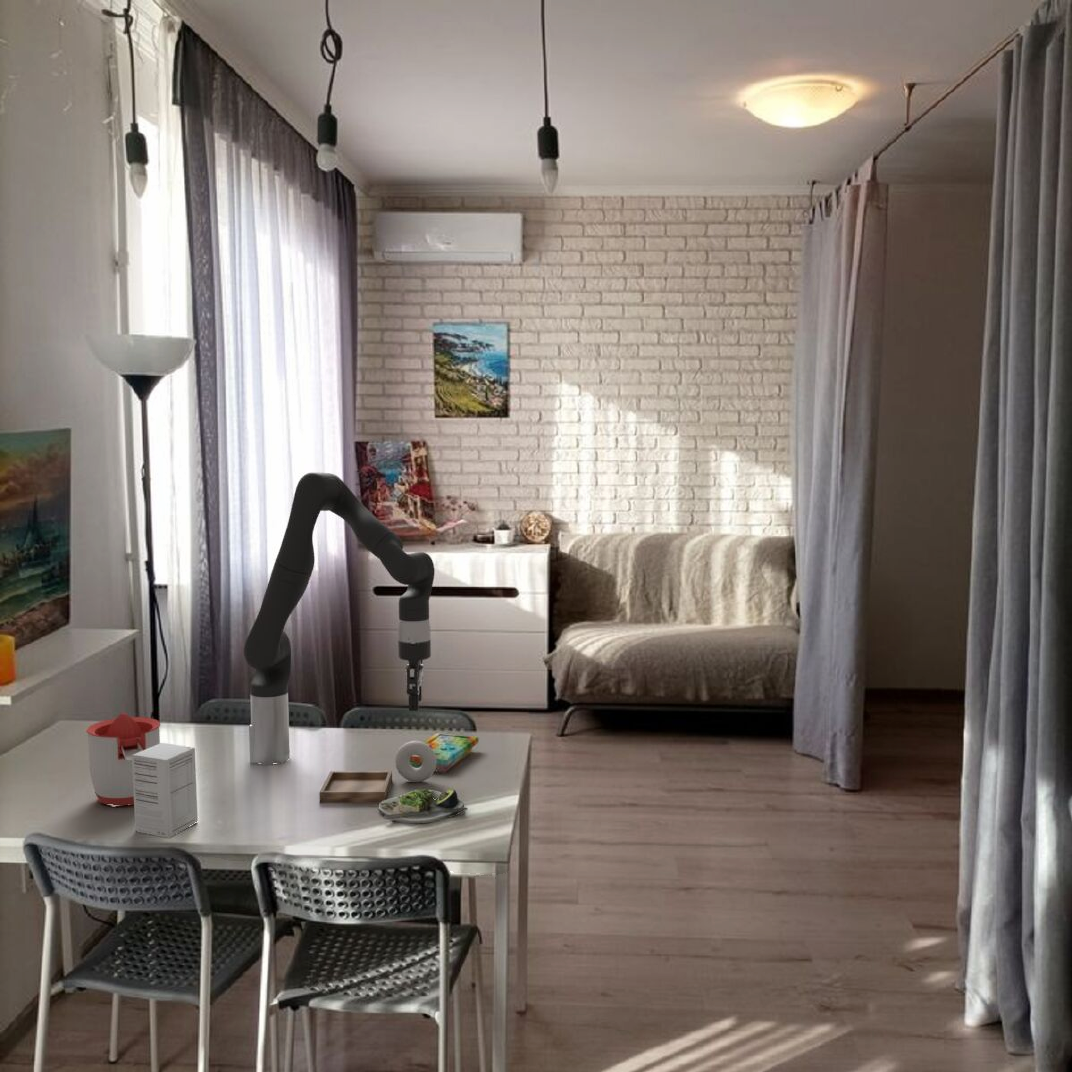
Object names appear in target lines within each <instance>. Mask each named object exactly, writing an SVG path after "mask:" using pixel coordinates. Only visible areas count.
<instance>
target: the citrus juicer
mask: <svg viewBox="0 0 1072 1072" xmlns="http://www.w3.org/2000/svg"><path fill="white" fill-rule="evenodd" d="M160 727H161V723H160V721H159V720H158V719H154V718H152V717H144V716H130V715H129V714H127V713H126V712H121V713H120V714H119V715H118V716H117V717H116V718H112V719H106V720H102V721H98V722H96V723H93V724H90V725H89V726H88V727H87V729H86V733H87V737H88V738H87V740H88V742H87V743H88V756H89V757H88V759H89V760H88V762H89V764H88V765H89V774H90V779H91V782H92V783H91V784H92V786H93V789H94V793H95V795H96V797H97V799H98V801H99V803H101V802H102V803H104V804H113V805H128V804H134V791H133V770H132V755H134V754H136V753H138V752H141V751H143V750H145V749H148V748H150V747H153V746H155V745H158V744H160V743H161V741H160V738H161V737H160ZM102 803H101V804H102ZM104 804H103V805H104ZM128 806H129V805H128Z"/></svg>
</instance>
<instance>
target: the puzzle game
mask: <svg viewBox="0 0 1072 1072" xmlns="http://www.w3.org/2000/svg"><path fill="white" fill-rule="evenodd" d="M479 739H480V738H479V737H478V736H470V735H469V736H468V735H460V734H448V733H440V732H439V733H438V732H437V733H435V734H433V735H432V736H430V737H429V738H427V739H425V740H423V742H424V743H425V744H427V745H429V746H430V748H431V749H432V750H433V751H434V753H435V755H436V761H437V763H436V769H435V770H437V771H436V772H439V771H446V770H447V769H448V770H450V769H451V768H452V767H454V766H455V765H456V764H458V763H459V762H460V761H462V760H463V759H464V758H465V757H464V756H466V755H467V754H468V755H470V753H471V752H472V750H473V747H475V746H476V745H478V744H479ZM468 755H467V756H468ZM467 756H466V757H467ZM463 757H464V758H463ZM462 758H463V759H462ZM461 759H462V760H461ZM459 760H460V761H459ZM409 761H410V764H411V766H412V767H414V768H419V767H421V766H422V759H421V758H420V757H419V756H418V755H412V756H411V757H410V759H409ZM458 761H459V762H458ZM457 762H458V763H457ZM455 763H456V764H455ZM454 764H455V765H454ZM453 765H454V766H453ZM451 766H452V767H451ZM450 767H451V768H450ZM449 768H450V769H449ZM448 770H447V771H448Z"/></svg>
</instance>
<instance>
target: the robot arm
mask: <svg viewBox="0 0 1072 1072" xmlns="http://www.w3.org/2000/svg"><path fill="white" fill-rule="evenodd" d="M292 499H293V500H292V504H291V509H290V514H289V517H288V521H287V526H286V529H285V531H284V534H283V537H282V541H281V543H280V548H279V550H278V554H277V555H276V558H275V561H274V564H273V567H272V570H271V573H270V576H269V579H268V582H267V587H266V590H265V592H264V596H263V599H262V602H261V605H260V608H259V611H258V614H257V616H256V619H255V621H254V623H253V625H252V628H251V630H250V632H249V634H248V636H247V638H246V639H245V642H244V647H243V655H244V658H245V661H246V663H247V665H248V666H249V667H250V668H252V669H254V670H255V675H254V677H253V679H251V681H250V685H249V696H250V697H249V698H250V725H249V726H248V742H249V746H248V747H249V764H256V763H261V764H273V763H280V764H283V763H285V761H286V762H287V760H288V759H289V760H290V758H291V757H290V756H291V755H290V724H289V723H290V720H289V719H290V718H289V717H290V716H289V715H290V714H289V684H290V682H291V681H290V680H291V676H292V648H291V647H292V646H291V642H290V639H289V636H288V635H287V633H286V632H285V630H284V629H285V626H286V624H287V621H288V619H289V618H290V616H291V615H292V613H293V611H294V610H295V608H296V607H297V605H298V604H299V602H300V601H301V599H302V597H303V595H304V594H305V591H306V589H307V587H308V585H309V583H310V579H311V576H312V573H313V571H314V568H315V559H316V558H315V549H314V543H313V541H314V540H313V534H314V530H315V526H316V523H317V520H318V517H319V515H320V513H321V511H322V512H331V513H333V514H335V515H336V516H338V517H340V518H341V519H343V520H344V522H346V523H347V524H348V525H349V527H350V528H351V530H352V531H353V533H354V535H355V537H356V539H357V540H358V541H359V543H360V544H361V545H362V546H363V547H364V548H365V549H367V550H368V551H369V552H370V553H371V554H372V555H373V556H375V557H376V558H377V559H379V561H380V562H381V564H382V565H383V567H384V568H385V569H386V572H387V573H388V574H389V575H390V577H391V578H392V579H393V580H395V581H396V582H398V583H399V584H401V585H403V586H404V585H406V586H407V590H406V591H405V592H404V593H403V594H402V595H400V597H399V599H398V625H397V626H398V628H397V637H398V638H397V639H398V640H397V641H398V642H397V643H398V644H397V645H398V646H397V647H398V648H397V649H398V658H399V659H400V660H402V661H407V662H408V664H406V666H405V675H406V676H405V677H406V678H405V679H406V680H405V683H406V695H408V710H409V711H410V712H417V711H419V709H420V707H419V704H420V703H419V702H421V701H422V700H423V699H422V697H423V696H422V694H423V693H422V688H423V687H422V686H423V680H424V671H425V665H424V664H423V661H424V660H428V659H430V658H431V654H432V652H431V651H432V650H431V645H432V644H431V625H430V623H431V622H430V603H429V602H430V597H431V593H432V590H433V584H434V579H435V569H436V568H435V564H434V560H433V559H432V557H431V556H430V555H429V554H428V553H426V552H424V551H417V552H412V553H407V552H405V551H404V550H403V549H404V543H403V539H402V538H401V537H400V536H399V535H397V534H396V533H395V532H394V531H393V530H391V528H389V527H388V526H387V525H386V524H384V523H383V522H382V521H381V520H379V519H378V518H377V517H376V516H375V515H374V514H373V513H372V512H371V511H369V509H368V508H367V507H366V506H365V505H364V504H363V503H362V502H361V500H360V499H359V498H358V497H357V496H356V495H355V494H354V492H352V490H351V489H350V488H349V486H348V485H347V484H346V483H345V482H344V481H343V480H342V478H340V477H339V476H338V475H336V474H334V473H330V472H329V473H328V472H317V471H316V472H315V471H314V472H313V471H311V472H307V473H305V474H303V476H302V477H301V478H300V479H299V481H298V483H297V484H296V488H295V492H294V495H293V498H292ZM289 760H288V761H289ZM282 762H283V763H282Z"/></svg>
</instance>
